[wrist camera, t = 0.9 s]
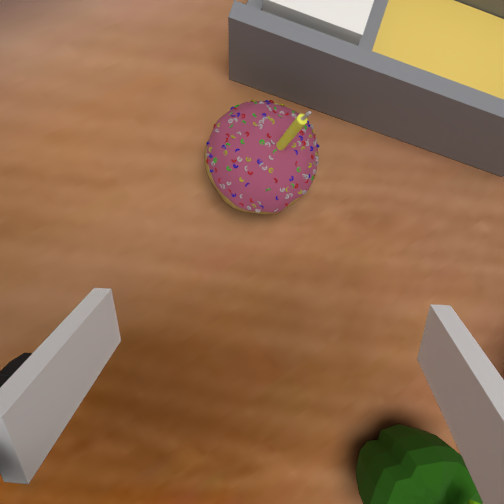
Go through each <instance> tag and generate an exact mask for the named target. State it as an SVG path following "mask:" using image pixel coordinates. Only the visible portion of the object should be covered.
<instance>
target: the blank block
mask: <svg viewBox="0 0 504 504" xmlns="http://www.w3.org/2000/svg"><path fill="white" fill-rule="evenodd" d="M373 2H374V0H263V6H262V11H265V12H268V13H271V14H273V15H276V16H279V17H281V18H284V19H287V20H290V21H292V22H295V23H298V24H300V25H303V26H306V27H309V28H311V29H314V30H317V31H319V32H322V33H325V34H328V35H330V36H333V37H336V38H338V39H341V40H344V41H347V42H349V43H352V44H355V45H357V44H358V42H359V41H360V39H361V37H362V35H363V33H364V30H365V26H366V23H367V20H368V17H369V14H370V11H371V8H372V5H373Z"/></svg>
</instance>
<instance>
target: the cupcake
mask: <svg viewBox="0 0 504 504" xmlns="http://www.w3.org/2000/svg"><path fill="white" fill-rule="evenodd" d="M271 101H272V100H270V101H268V100H266V101H261V100H260V101H256V102H255V101H254V100H251V102H245V103H242V104H240V105H236V106H235V107H231V110H230V111H229V112H227V113H226V114H225V115H223V116H222V117H221V118H220V119H219V120H218V121H217V123H216V124H215V125H214V129H213V131H212V133H211V136H210V138H209V140H208V142H207V145H206V149H205V156H204V158H205V168H206V172H207V174H208V177H209V179H210V181H211V182H212V184H213V185H214V187H215V188H216V190H217V191H218V193H219V194H220V196H221V197H222V199H223V200H224V202H225V203H227V204H228V205H229V206H231V207H233V208H234V209H237V210H239V211H243V212H248V213H257V214H277V213H280V212H281V211H283V210H285V209H286V208H288V207H289V206H291V205H292V204H293V203H295V202H296V201H297V200H298V199H299V198H300V197H301V196H302V195H304V194H305V193H306V192H307V191H308V189H309V187H310V186H311V184H312V182H313V179H314V177H315V174H316V170H317V164H318V148H317V147H319V145H318V144H317V141H316V140H317V138H316V137H315V134H314V131H313V130H312V129H313V125H312V124H311V125H309V124H308V123H309V121H308V119H307V117H308V116H309V115H310V114H311V111H308V112H307V113H306V114H305V115H304V114H299V113H297V112H295V111H293V110H291V109H289V108H287V107H284V104H280V105H279V104H276V103H274V102H273V101H272V102H271ZM307 122H308V123H307ZM311 127H312V128H311Z"/></svg>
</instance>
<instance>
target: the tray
mask: <svg viewBox="0 0 504 504" xmlns="http://www.w3.org/2000/svg"><path fill="white" fill-rule="evenodd" d="M262 6H263V0H248V2H247V5H246V4H243V3H241V2H238V1H235V0H234V3H233V5H232V8H231V11H230V14H229V17H228V19H229V79H230V80H233V81H236V82H239V83H241V84H244V85H247V86H250V87H253V88H255V89H258V90H261V91H264V92H267V93H269V94H272V95H275V96H278V97H280V98H283V99H286V100H289V101H292V102H294V103H297V104H300V105H303V106H306V107H308V108H311V109H314V110H317V111H320V112H322V113H325V114H328V115H331V116H334V117H336V118H339V119H342V120H345V121H347V122H350V123H353V124H356V125H359V126H361V127H364V128H367V129H370V130H373V131H375V132H378V133H381V134H384V135H387V136H389V137H392V138H395V139H398V140H400V141H403V142H406V143H409V144H412V145H414V146H417V147H420V148H423V149H426V150H428V151H431V152H434V153H437V154H440V155H442V156H445V157H448V158H451V159H454V160H456V161H459V162H462V163H465V164H467V165H470V166H473V167H476V168H479V169H481V170H484V171H487V172H490V173H493V174H495V175H498V176H501V177H502V176H504V0H374V2H373V5H372V8H371V11H370V14H369V17H368V20H367V23H366V26H365V30H364V33H363V35H362V37H361V39H360V41H359V42H358V44H357V45H355V44H352V43H349V42H347V41H344V40H341V39H338V38H336V37H333V36H330V35H328V34H325V33H322V32H319V31H317V30H314V29H311V28H309V27H306V26H303V25H300V24H298V23H295V22H292V21H290V20H287V19H284V18H281V17H279V16H276V15H273V14H271V13H268V12H265V11H262Z"/></svg>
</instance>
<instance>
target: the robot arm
mask: <svg viewBox="0 0 504 504" xmlns="http://www.w3.org/2000/svg"><path fill="white" fill-rule="evenodd" d="M120 342H121V338H120V332H119V327H118V322H117V316H116V311H115V305H114V300H113V295H112V289H108V288H94V289H93V290H92V291H91V292H90V293H89V294H88V295H87V296H86V297H85V298H84V299H83V300H82V301H81V302H80V303H79V304H78V306H77V307H76V308H75V309H74V310H73V311H72V312H71V313H70V314H69V315H68V316H67V317H66V318H65V319H64V320H63V322H62V323H61V324H60V325H59V326H58V327H57V328H56V329H55V330H54V331H53V332H52V333H51V334H50V335H49V336H48V337H47V339H46V340H45V341H44V342H43V343H42V344H41V345H40V346H39V347H38V348H37V349H36V350H35V351H34V352H33V353H23V354H22V355H20V356H19V357H17V358H15V359H14V360H12V361H11V362H9V363H8V364H7V365H6V366H5V367H4V368H3V369H2V370H1V371H0V474H1V476H2V478H3V480H4V482H11V483H22V484H29V483H30V481H31V479H32V478H33V476H34V475H35V473H36V472H37V470H38V469H39V467H40V466H41V464H42V462H43V461H44V459H45V458H46V456H47V455H48V453H49V452H50V450H51V448H52V447H53V445H54V444H55V442H56V441H57V439H58V438H59V436H60V435H61V433H62V431H63V430H64V428H65V427H66V425H67V424H68V422H69V421H70V419H71V418H72V416H73V414H74V413H75V411H76V410H77V408H78V407H79V405H80V404H81V402H82V400H83V399H84V397H85V396H86V394H87V393H88V391H89V390H90V388H91V387H92V385H93V383H94V382H95V380H96V379H97V377H98V376H99V374H100V373H101V371H102V369H103V368H104V366H105V365H106V363H107V362H108V360H109V359H110V357H111V356H112V354H113V352H114V351H115V349H116V348H117V346H118V345H119V343H120ZM417 360H418V362H419V364H420V366H421V368H422V371H423V373H424V375H425V377H426V379H427V381H428V384H429V386H430V388H431V390H432V392H433V395H434V397H435V399H436V401H437V403H438V405H439V408H440V410H441V412H442V414H443V416H444V419H445V421H446V423H447V425H448V427H449V429H450V432H451V434H452V436H453V438H454V440H455V443H456V445H457V447H458V449H459V451H460V453H461V456H462V458H463V460H464V462H465V464H466V467H467V469H468V471H469V473H470V475H471V477H472V480H473V482H474V484H475V486H476V488H477V491H478V493H479V495H480V497H481V499H482V501H483V504H504V380H503V378H502V377H501V376H500V374H499V373H498V371H497V370H496V369H495V367H494V366H493V364H492V363H491V362H490V360H489V359H488V357H487V356H486V355H485V353H484V352H483V350H482V349H481V348H480V346H479V345H478V343H477V342H476V341H475V339H474V338H473V336H472V335H471V334H470V332H469V331H468V329H467V328H466V327H465V325H464V324H463V322H462V321H461V320H460V318H459V317H458V315H457V314H456V313H455V311H454V310H453V308H452V307H451V306H450V305H430V308H429V312H428V317H427V321H426V325H425V329H424V333H423V337H422V341H421V345H420V349H419V354H418V358H417Z"/></svg>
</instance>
